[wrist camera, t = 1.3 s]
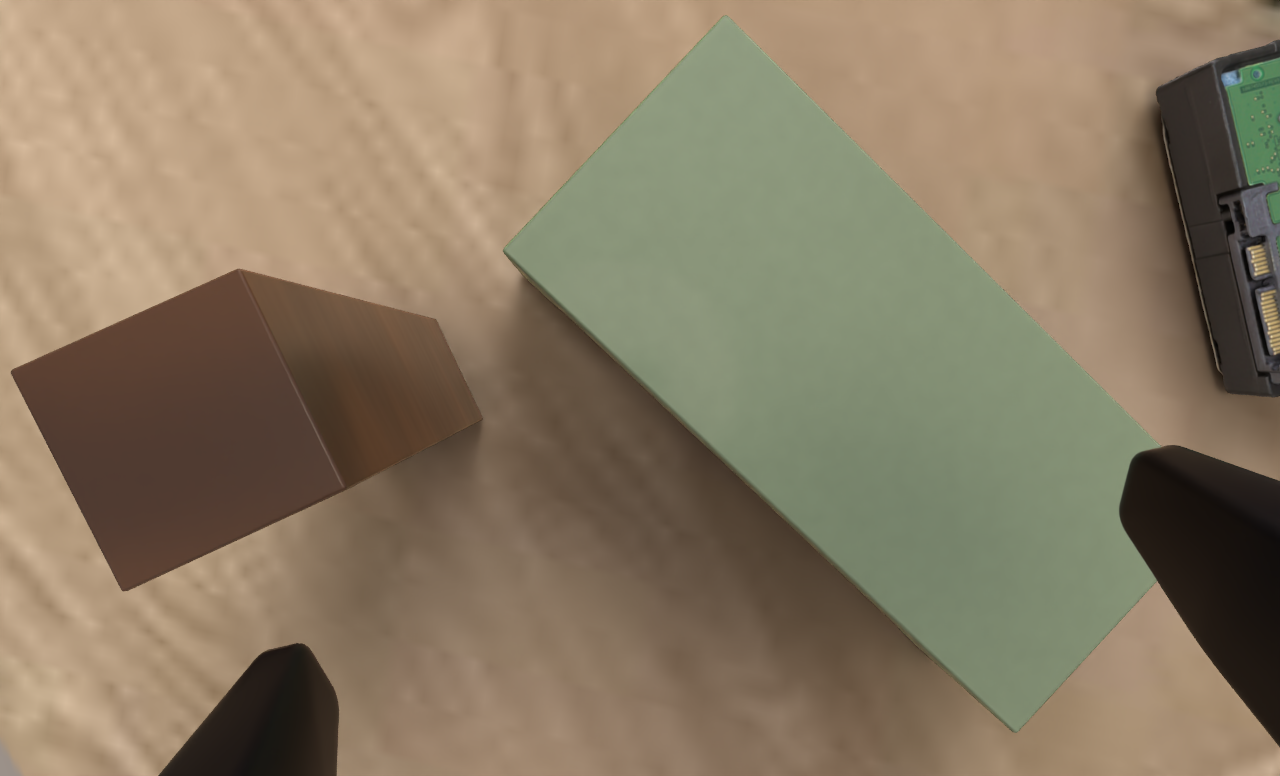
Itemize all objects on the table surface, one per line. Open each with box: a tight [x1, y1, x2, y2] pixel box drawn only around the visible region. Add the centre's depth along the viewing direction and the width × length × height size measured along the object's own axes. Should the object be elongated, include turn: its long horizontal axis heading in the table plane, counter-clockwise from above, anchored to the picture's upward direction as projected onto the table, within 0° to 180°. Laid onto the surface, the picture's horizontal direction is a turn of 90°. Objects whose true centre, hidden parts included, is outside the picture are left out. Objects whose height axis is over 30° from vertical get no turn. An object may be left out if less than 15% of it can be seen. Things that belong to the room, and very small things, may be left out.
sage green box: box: [503, 15, 1161, 733], centre depth 22 cm, size 8×18×5 cm, turn 47°
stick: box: [11, 269, 483, 591], centre depth 17 cm, size 3×3×13 cm
